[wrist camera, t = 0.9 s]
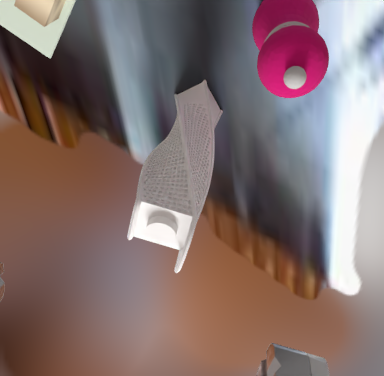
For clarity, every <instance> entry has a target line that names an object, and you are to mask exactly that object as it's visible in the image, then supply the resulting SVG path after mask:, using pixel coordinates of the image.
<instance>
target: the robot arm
mask: <svg viewBox="0 0 384 376" xmlns="http://www.w3.org/2000/svg"><path fill="white" fill-rule="evenodd" d="M2 273H4V267H3V263H1V262H0V275H2ZM4 290H5V283H4V282H3V280H2V279H1V277H0V302H1V299H2V298H3V294H4ZM266 356H267V357H266V359H265V360H263V361H261V363H260V366H259V368H258V371H257V375H256V376H330V375H329V371H328V365H327V362H326V360H325V359H324V358H321V357H318V356H315V355H311V354H308V353H305V352H302V351H298V350H295V349H291V348H288V347H284V346H281V345H277V344H274V343H271V344H270V345H269V347H268V349H267V351H266Z"/></svg>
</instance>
